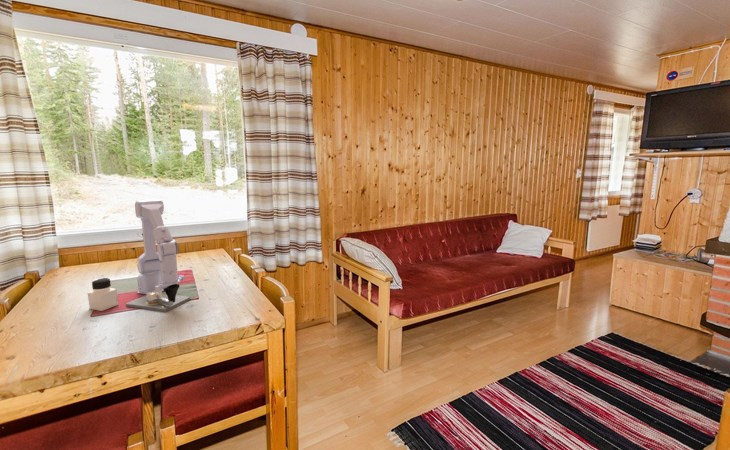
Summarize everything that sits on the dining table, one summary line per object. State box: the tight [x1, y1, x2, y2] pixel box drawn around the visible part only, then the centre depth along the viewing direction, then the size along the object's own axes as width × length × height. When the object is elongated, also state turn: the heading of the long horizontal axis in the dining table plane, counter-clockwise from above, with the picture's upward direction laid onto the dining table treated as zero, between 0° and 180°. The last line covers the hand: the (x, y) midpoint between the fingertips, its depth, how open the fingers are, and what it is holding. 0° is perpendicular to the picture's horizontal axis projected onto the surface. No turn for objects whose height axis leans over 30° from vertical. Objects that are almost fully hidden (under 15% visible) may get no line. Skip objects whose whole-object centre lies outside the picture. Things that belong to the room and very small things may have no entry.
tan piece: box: [146, 291, 173, 306], centre depth 148 cm, size 14×6×4 cm, turn 61°
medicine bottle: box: [87, 277, 119, 312], centre depth 147 cm, size 7×7×12 cm
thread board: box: [125, 292, 191, 313], centre depth 153 cm, size 20×14×1 cm
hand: (172, 302), depth 147 cm, fingers closed, pressing on tan piece
